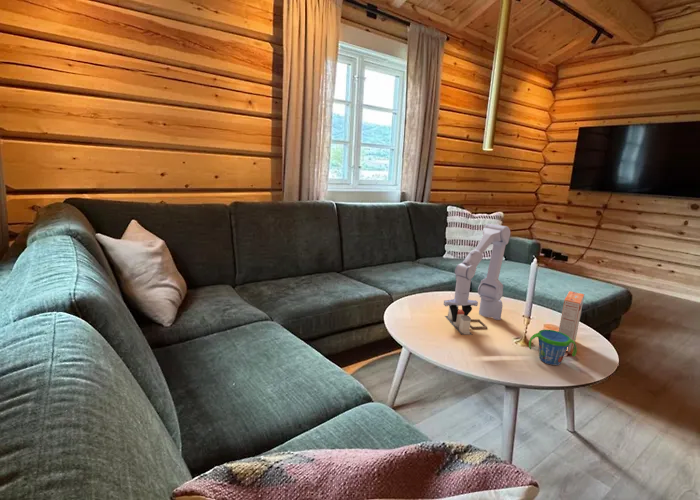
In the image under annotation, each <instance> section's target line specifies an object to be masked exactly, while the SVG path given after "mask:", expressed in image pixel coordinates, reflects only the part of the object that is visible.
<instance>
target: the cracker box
mask: <svg viewBox="0 0 700 500" xmlns="http://www.w3.org/2000/svg"><path fill="white" fill-rule="evenodd" d="M584 299H585V294H584V293H579V292H576V291H572V290H571V291H570V290H569V291H568V293H567V294H566V296H565V298H564V300H563V305H562V310H561V316H560V323H559V327H558V328H559V329H558V332H561V333H564V334H566V335H567V336H569V337H570V339H572V340H573V341H574V342H575V343H576V339H577V334H578V329H579V324H580V320H581V315H582V309H583V304H584ZM573 349H574V344H573V343H572V342H571V343H570V344H569V346H568V352H567V353H569V354H572V353H573Z"/></svg>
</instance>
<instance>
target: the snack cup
mask: <svg viewBox="0 0 700 500" xmlns="http://www.w3.org/2000/svg"><path fill="white" fill-rule="evenodd" d="M535 338H537V339H538V358H539V359H540V361H542V362H543V363H545V364H548V365H554V366H559V365H560V364H562V362H563V361H564V357H565V355H566V350H567V347H568V346H569V344H570V343H571V342H572V343H573V344H574V346H573V349H572V352H571V355H572V357H576V355H577V349H578V348H577V344H576V341H575V342H574V341H573V340H572V339H570V337H569V336H567V335H566V334H564V333H561V332H559V330H554V329H540V330H539V331H538V332H537V333H534V334H533V335H532V336H531V337H530V338H529V341H528V347H529V350H532V341H533V340H534V339H535Z"/></svg>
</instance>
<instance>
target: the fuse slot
mask: <svg viewBox="0 0 700 500" xmlns="http://www.w3.org/2000/svg"><path fill="white" fill-rule="evenodd" d="M471 319H472V318H471V317H470V316H469V315H467V316H461V320H460V328H459V330H460V331H461V332H462V333H463V331H470V329H471V328H470V325H471V323H472V322H471Z"/></svg>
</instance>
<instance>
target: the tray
mask: <svg viewBox="0 0 700 500" xmlns="http://www.w3.org/2000/svg"><path fill="white" fill-rule="evenodd" d="M473 322H475V323H476V322H477V323H479V324H480V325H481V326H473V325H472V324H470V329H471V330H488V326H487V325H486V324H485V323H483V321H482V320H480V319H479V318H476V319H475V318H474V319H472V318H471V322H470V323H473Z"/></svg>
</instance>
